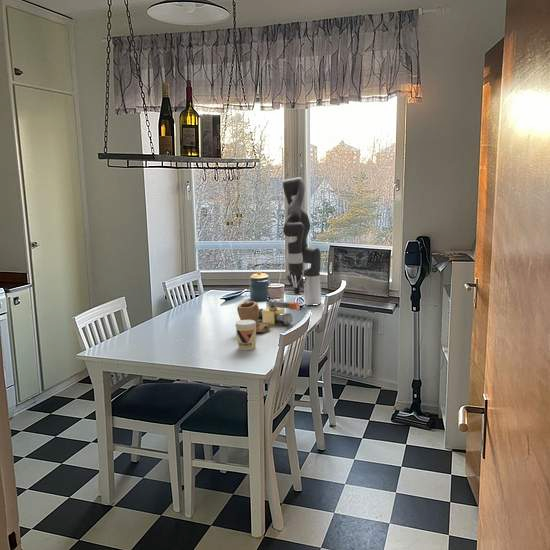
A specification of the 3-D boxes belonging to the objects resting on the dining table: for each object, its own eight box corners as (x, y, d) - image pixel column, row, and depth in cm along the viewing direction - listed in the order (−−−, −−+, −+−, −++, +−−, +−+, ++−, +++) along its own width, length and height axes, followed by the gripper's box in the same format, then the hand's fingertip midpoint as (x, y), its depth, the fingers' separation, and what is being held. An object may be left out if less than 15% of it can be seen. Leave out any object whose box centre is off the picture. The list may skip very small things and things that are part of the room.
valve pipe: (254, 321, 303) (253, 305, 301) (264, 318, 309) (263, 302, 307) (283, 327, 290) (283, 310, 288) (293, 323, 296) (293, 307, 294)
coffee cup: (234, 351, 256) (233, 325, 254) (239, 344, 265) (237, 319, 263) (255, 351, 255) (254, 324, 253) (259, 344, 264) (257, 319, 262)
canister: (260, 302, 345) (259, 273, 342) (245, 299, 354) (244, 271, 350) (275, 298, 354) (274, 270, 351) (260, 295, 363) (259, 268, 360)
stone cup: (234, 334, 282) (232, 304, 279) (244, 327, 293) (242, 298, 290) (262, 336, 277) (261, 306, 274) (271, 329, 288) (270, 300, 285)
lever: (267, 306, 297) (267, 301, 297) (271, 305, 300) (271, 299, 300) (296, 310, 288) (296, 304, 287) (300, 308, 291) (299, 302, 290)
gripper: (281, 261, 297) (283, 294, 300) (299, 264, 287) (300, 297, 290) (292, 259, 301) (293, 291, 305) (309, 261, 291) (311, 294, 295)
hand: (297, 294), depth 298 cm, fingers closed
